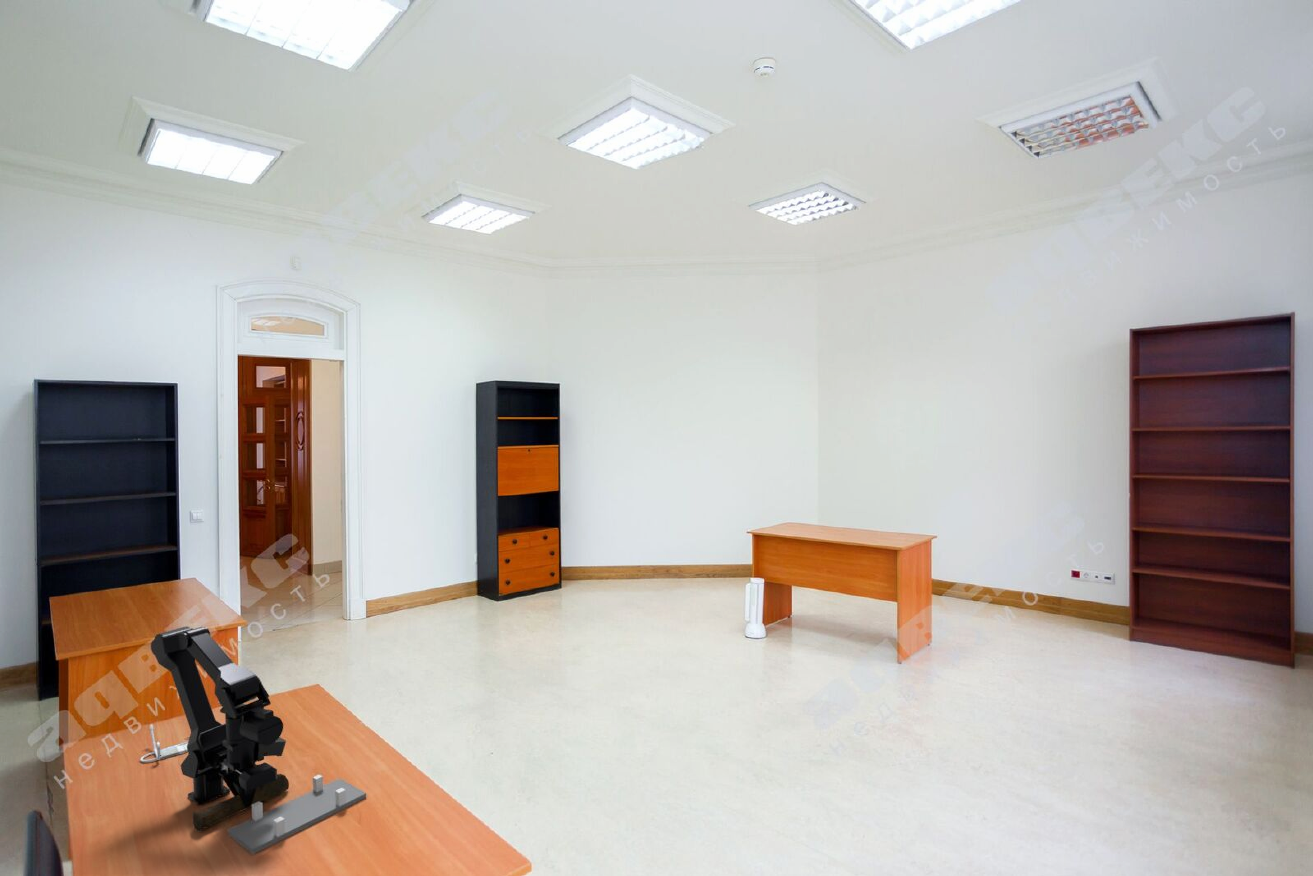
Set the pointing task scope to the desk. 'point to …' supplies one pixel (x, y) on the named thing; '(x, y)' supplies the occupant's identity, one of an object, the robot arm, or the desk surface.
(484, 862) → the desk surface
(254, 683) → the robot arm
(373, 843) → the desk surface
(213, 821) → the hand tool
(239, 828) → the plate
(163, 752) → the wall mount rack
